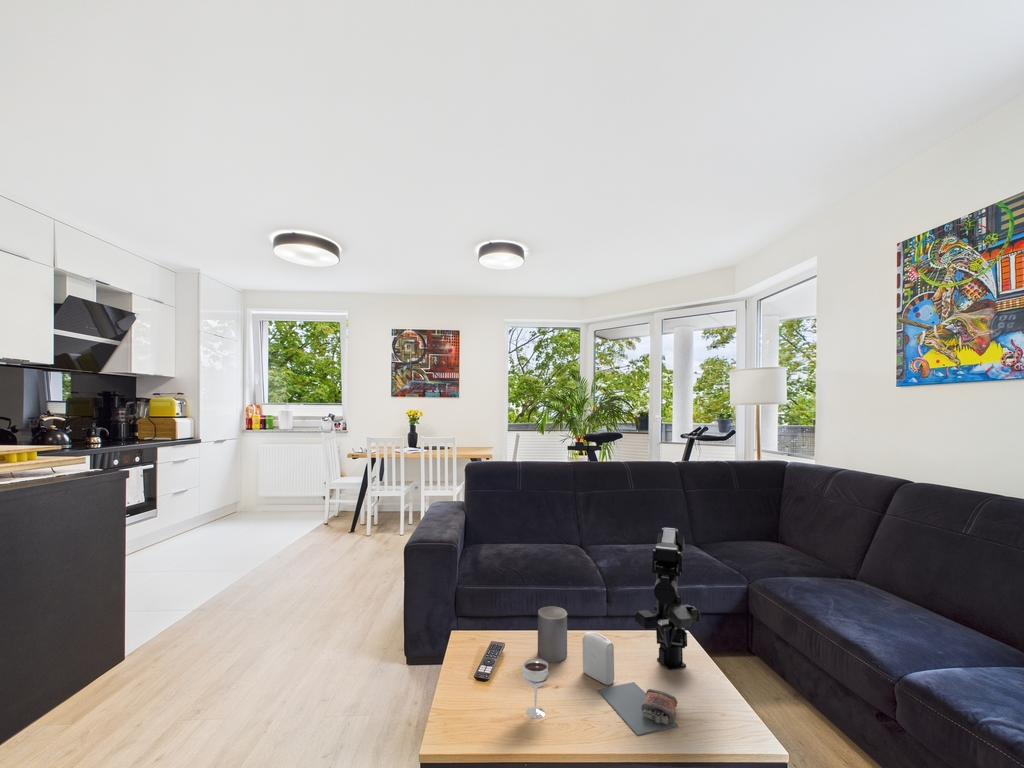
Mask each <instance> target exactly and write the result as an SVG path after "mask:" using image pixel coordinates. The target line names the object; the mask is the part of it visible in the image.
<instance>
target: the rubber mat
mask: <svg viewBox="0 0 1024 768" xmlns="http://www.w3.org/2000/svg"><path fill="white" fill-rule="evenodd" d="M597 692H598V693H599V694H600V695H601V697H603V699H604V700H605V701H606V702H607V703H608V704H609V705H610V706H611V707H612V708H613V710H614V711H615V712H616V714H618V715H619V716H620V718H621V719H622V720H623V721H624V722H625V723H626V724H627V726H628V727H629V728H630V729H631V730H632V731H633V733H634V734H635V735H636V736H637V737H638V735H639V736H643V735H646V733H647V734H650V732H652V733H656V732H659V730H660V731H663V729H664V730H668V728H669V729H672V727H673V728H675V727H679V723H677V722H676V721H675V720H674V721H673V722H672V723H668V724H664V723H662V722H661V723H657V722H655V721H654V720H653V719H650V718H647V717H645V716H643V712H642V704H643V703H644V700H645V697H646V691H644V690H643V689H642V688H641V687H640V686H639V685H638V684H637V683H636V682H635V681H633V682H627V683H622V684H618V685H612V686H607V687H602V688H598V689H597ZM655 731H656V732H655Z"/></svg>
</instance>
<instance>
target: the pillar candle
mask: <svg viewBox="0 0 1024 768" xmlns="http://www.w3.org/2000/svg"><path fill="white" fill-rule="evenodd" d="M537 656H538V659H541V660H544V661H546V662H547V663H559V662H561V661H564V660H566V659H567V658H568V612H567V610H565V609H564V608H563V607H559V606H553V605H551V606H544V607H541V608H539V609H538V610H537Z"/></svg>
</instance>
